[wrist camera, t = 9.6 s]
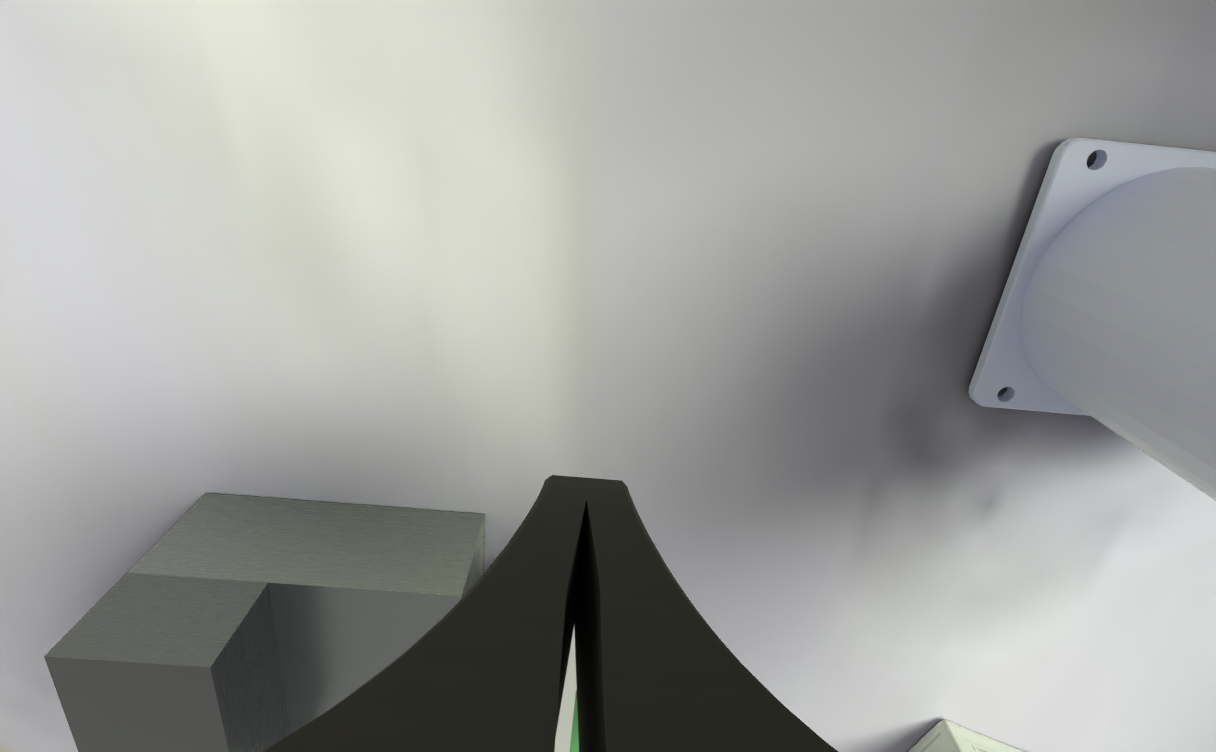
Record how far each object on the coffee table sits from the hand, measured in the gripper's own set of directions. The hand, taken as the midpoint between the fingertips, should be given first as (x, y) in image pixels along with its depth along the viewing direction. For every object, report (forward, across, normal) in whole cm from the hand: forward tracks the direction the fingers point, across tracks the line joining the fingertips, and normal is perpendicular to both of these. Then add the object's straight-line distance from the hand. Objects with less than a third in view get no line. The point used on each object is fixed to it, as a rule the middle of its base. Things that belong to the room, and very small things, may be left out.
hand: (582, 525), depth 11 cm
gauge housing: (+9, +8, +11) cm, 17 cm away
